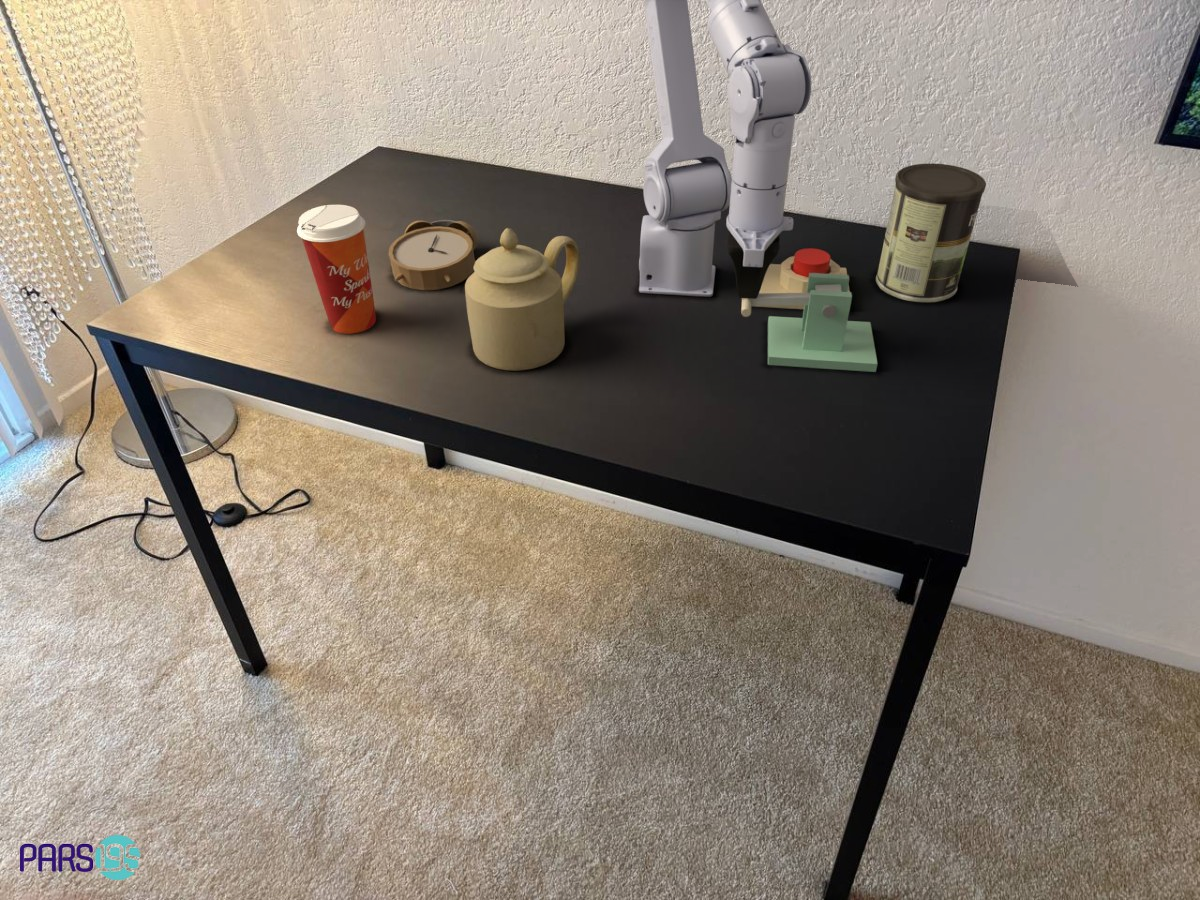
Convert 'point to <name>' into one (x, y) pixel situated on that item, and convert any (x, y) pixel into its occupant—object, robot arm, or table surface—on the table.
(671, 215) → the robot arm
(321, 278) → the paper cup
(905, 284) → the coffee can
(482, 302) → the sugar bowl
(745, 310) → the lever
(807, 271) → the red button
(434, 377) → the table surface
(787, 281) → the button housing
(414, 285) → the alarm clock
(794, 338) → the bracket
